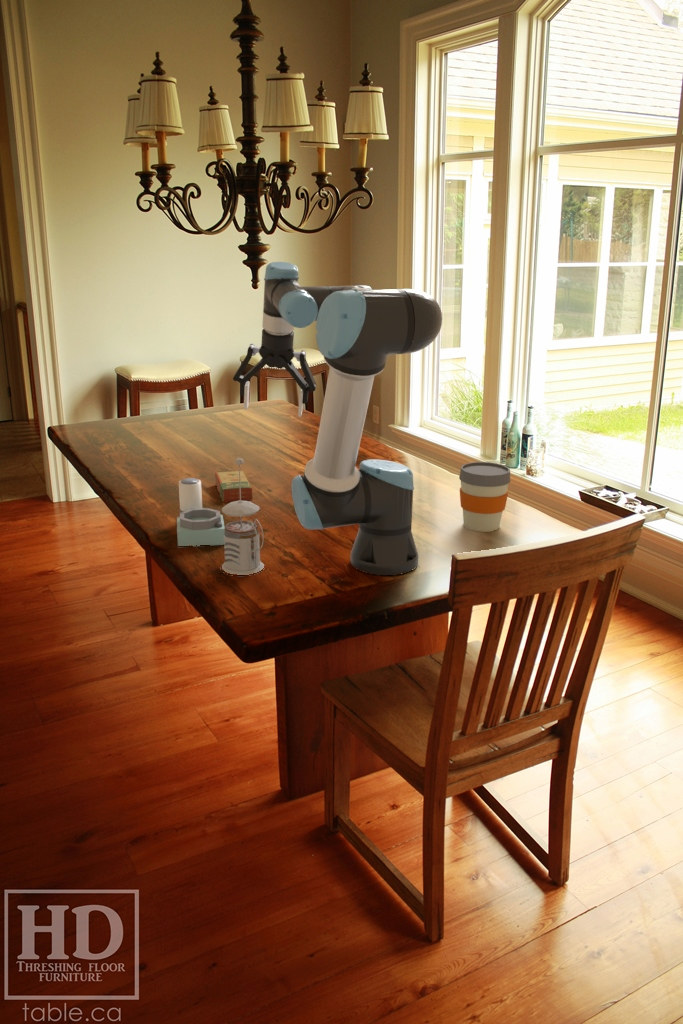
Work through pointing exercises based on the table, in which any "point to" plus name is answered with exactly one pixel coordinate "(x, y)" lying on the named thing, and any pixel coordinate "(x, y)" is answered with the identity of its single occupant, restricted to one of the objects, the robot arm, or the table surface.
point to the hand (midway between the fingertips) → (273, 411)
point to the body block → (200, 527)
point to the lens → (190, 494)
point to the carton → (233, 486)
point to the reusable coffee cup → (483, 494)
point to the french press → (239, 548)
